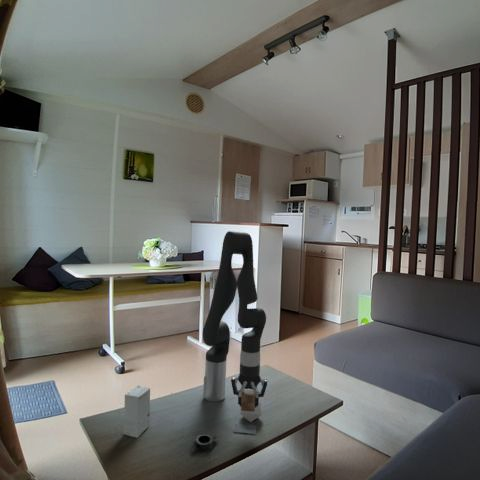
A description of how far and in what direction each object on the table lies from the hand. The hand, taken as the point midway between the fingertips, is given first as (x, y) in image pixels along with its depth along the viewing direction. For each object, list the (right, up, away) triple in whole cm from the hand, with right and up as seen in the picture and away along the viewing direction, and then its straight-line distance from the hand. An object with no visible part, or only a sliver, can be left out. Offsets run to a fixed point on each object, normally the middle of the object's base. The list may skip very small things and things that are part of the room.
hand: (248, 405), depth 131 cm
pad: (-1, -9, +1) cm, 9 cm away
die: (+1, -9, +9) cm, 13 cm away
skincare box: (-41, -8, -3) cm, 42 cm away
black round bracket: (-16, -10, -10) cm, 21 cm away
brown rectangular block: (0, -1, 0) cm, 1 cm away
